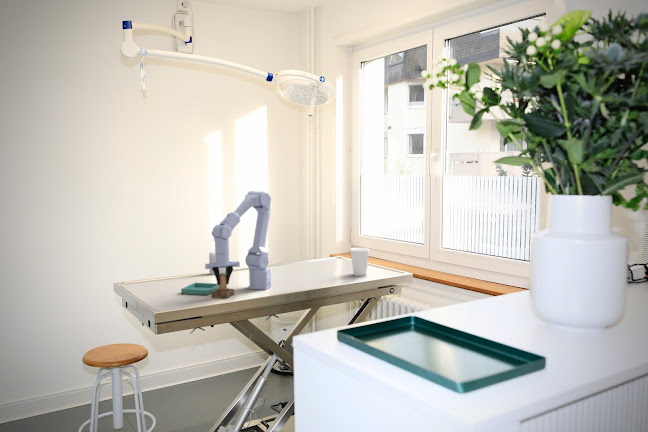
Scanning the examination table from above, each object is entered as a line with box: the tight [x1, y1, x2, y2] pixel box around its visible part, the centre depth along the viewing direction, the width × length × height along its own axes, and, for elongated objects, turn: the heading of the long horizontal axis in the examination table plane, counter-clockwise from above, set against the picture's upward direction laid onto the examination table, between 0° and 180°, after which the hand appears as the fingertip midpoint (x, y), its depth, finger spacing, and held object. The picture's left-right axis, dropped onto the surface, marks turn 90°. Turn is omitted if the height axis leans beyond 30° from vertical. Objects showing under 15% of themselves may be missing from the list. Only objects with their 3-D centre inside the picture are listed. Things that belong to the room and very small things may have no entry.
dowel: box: [219, 273, 228, 292], centre depth 236 cm, size 3×3×8 cm
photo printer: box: [208, 250, 226, 276], centre depth 283 cm, size 10×4×12 cm, turn 123°
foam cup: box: [350, 247, 370, 277], centre depth 279 cm, size 10×9×13 cm
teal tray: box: [180, 282, 219, 296], centre depth 246 cm, size 13×13×2 cm
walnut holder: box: [211, 288, 235, 299], centre depth 237 cm, size 7×7×2 cm
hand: (222, 284), depth 236 cm, fingers closed on dowel, 3 cm apart
